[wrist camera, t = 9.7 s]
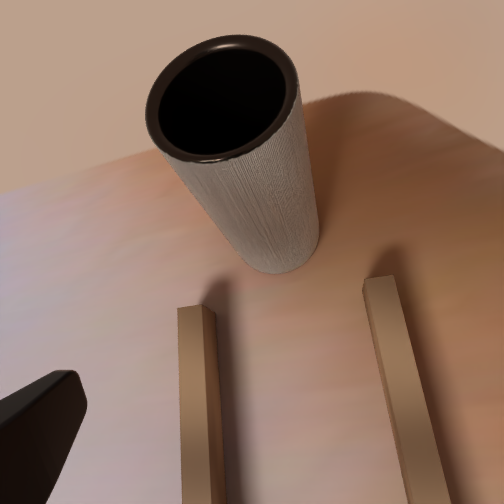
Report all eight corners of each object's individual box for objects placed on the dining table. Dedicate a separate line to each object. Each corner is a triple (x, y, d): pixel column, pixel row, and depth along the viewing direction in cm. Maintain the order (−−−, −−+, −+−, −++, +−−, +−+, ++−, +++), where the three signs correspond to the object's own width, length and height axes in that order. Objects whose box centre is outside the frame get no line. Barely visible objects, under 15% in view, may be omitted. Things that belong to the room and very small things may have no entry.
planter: (219, 233, 21) (116, 101, 11) (281, 181, 21) (231, 9, 11) (271, 292, 19) (199, 194, 9) (338, 235, 19) (334, 83, 10)
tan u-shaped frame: (485, 687, 12) (511, 739, 11) (207, 680, 14) (187, 723, 12) (387, 286, 18) (393, 274, 16) (193, 316, 19) (177, 308, 17)
